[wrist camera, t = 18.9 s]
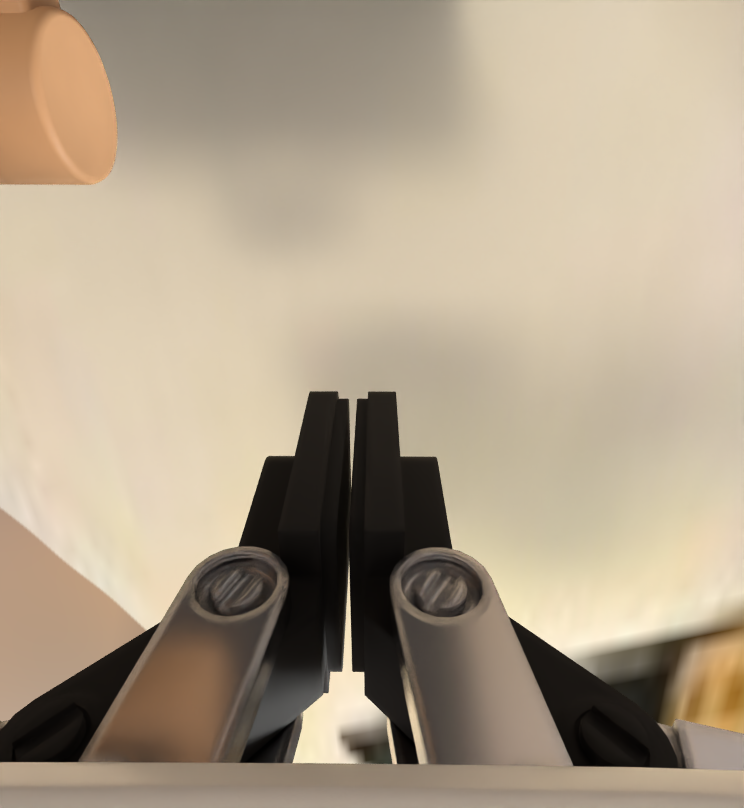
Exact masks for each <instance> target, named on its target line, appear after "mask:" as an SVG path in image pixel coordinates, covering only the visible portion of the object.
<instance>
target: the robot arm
mask: <svg viewBox="0 0 744 808" xmlns="http://www.w3.org/2000/svg"><path fill="white" fill-rule="evenodd" d="M349 565H350V601H351V637H352V671H353V672H364V676H365V696H366V697H367V698H368V699H369V700H371V701H372V702H373V703H374V704H375V705H376V706H377V707H378V708H379V709H380V710H381V711H382V712H383V713H384V714H385V715H386V716H387V732H388V738H389V744H390V750H391V756H392V762H393V764H316V763H292V762H293V759H294V755H295V751H296V748H297V744H298V740H299V737H300V733H301V729H302V721H303V711H305V710H306V709H307V708H308V707H309V706H310V705H311V704H313V703H314V702H315V701H316V700H317V699H318V698H320V697H321V696H322V695H323V693H328V692H329V680H330V672H342V668H343V653H344V637H345V620H346V603H347V587H348V570H349ZM0 808H744V734H741V733H737V732H733V731H728V730H724V729H719V728H715V727H710V726H706V725H701V724H697V723H692V722H688V721H683V720H679V719H675V722H674V724H673V726H672V727H671V726H667V725H662V724H658V723H657V722H656V721H655V720H654V719H653V718H652V717H651V716H650V715H649V714H648V713H646V712H645V711H644V710H643V709H642V708H640V707H639V706H638V705H637V704H636V703H634V702H633V701H631V700H630V699H628V698H627V697H625V696H624V695H622V694H621V693H619V692H618V691H617V690H615V689H614V688H612V687H611V686H609V685H608V684H606V683H605V682H603V681H602V680H600V679H599V678H598V677H596V676H595V675H593V674H592V673H590V672H589V671H587V670H586V669H584V668H583V667H581V666H580V665H579V664H577V663H576V662H574V661H573V660H571V659H570V658H568V657H567V656H565V655H564V654H562V653H561V652H559V651H558V650H557V649H555V648H554V647H552V646H551V645H549V644H548V643H546V642H545V641H543V640H542V639H540V638H539V637H538V636H536V635H535V634H533V633H532V632H530V631H529V630H527V629H526V628H524V627H523V626H521V625H520V624H519V623H517V622H516V621H514V620H513V619H511V618H510V617H508V615H507V613H506V610H505V608H504V606H503V603H502V601H501V599H500V597H499V594H498V592H497V590H496V587H495V585H494V583H493V581H492V578H491V577H490V575H489V574H488V572H487V571H486V569H485V568H484V566H482V565H481V564H480V563H479V562H478V561H476V560H475V559H474V558H473V557H471V556H469V555H467V554H464V553H462V552H460V551H457V550H453V549H452V545H451V539H450V533H449V527H448V521H447V515H446V509H445V503H444V497H443V491H442V485H441V479H440V473H439V467H438V462H437V458H436V457H400V448H399V432H398V417H397V402H396V392H368V399H357V411H356V426H355V441H354V457H353V472H352V487H351V465H350V423H349V399H339V396H338V392H310V393H309V396H308V401H307V405H306V409H305V414H304V418H303V422H302V427H301V431H300V436H299V440H298V444H297V449H296V453H295V456H268V457H267V458H266V460H265V463H264V466H263V469H262V472H261V475H260V479H259V482H258V485H257V488H256V492H255V495H254V498H253V501H252V505H251V508H250V511H249V514H248V518H247V521H246V524H245V527H244V531H243V534H242V537H241V540H240V543H239V547H235V548H230V549H225V550H222V551H220V552H218V553H216V554H213V555H211V556H209V557H208V558H206V559H205V560H204V561H202V562H201V563H200V564H198V565H197V566H196V567H195V568H194V570H193V571H192V572H191V573H190V575H189V576H188V577H187V579H186V580H185V582H184V584H183V586H182V587H181V589H180V591H179V592H178V594H177V596H176V597H175V599H174V601H173V602H172V604H171V606H170V607H169V609H168V611H167V612H166V614H165V616H164V617H163V619H162V621H161V622H160V623H158V624H157V625H155V626H154V627H152V628H150V629H149V630H147V631H145V632H144V633H142V634H141V635H139V636H138V637H136V638H134V639H133V640H131V641H129V642H128V643H126V644H124V645H123V646H121V647H120V648H118V649H116V650H115V651H113V652H112V653H110V654H108V655H107V656H105V657H104V658H102V659H100V660H98V661H97V662H95V663H94V664H92V665H90V666H89V667H87V668H85V669H84V670H82V671H80V672H79V673H77V674H76V675H74V676H72V677H71V678H69V679H68V680H66V681H64V682H63V683H61V684H59V685H58V686H56V687H54V688H53V689H51V690H50V691H48V692H46V693H45V694H43V695H41V696H40V697H38V698H37V699H35V700H33V701H32V702H31V703H29V704H28V705H27V706H26V707H24V708H23V709H21V710H20V711H19V712H17V713H16V714H15V715H14V716H13V717H12V718H11V719H10V720H8V721H3V722H1V721H0Z"/></svg>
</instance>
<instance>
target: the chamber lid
mask: <svg viewBox="0 0 744 808" xmlns="http://www.w3.org/2000/svg"><path fill="white" fill-rule="evenodd" d="M116 150H117V122H116V113H115V106H114V101H113V96H112V92H111V88H110V84H109V81H108V78H107V75H106V72H105V69H104V66H103V63H102V61H101V58H100V56H99V54H98V52H97V50H96V48H95V46H94V44H93V42H92V40H91V39H90V37H89V35H88V34H87V32H86V31H85V29H84V28H83V27H82V25H81V24H80V23H79V22H78V21H77V20H76V19H75V18H74V17H73V16H72V15H70V14H69V13H67V12H66V11H64V10H61V9H60V5H59V1H58V0H0V184H71V185H92V184H96V183H98V182H100V181H102V180H104V179H105V178H106V177H107V176H108V175H109V173H110V172H111V169H112V167H113V164H114V161H115V156H116Z"/></svg>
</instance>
